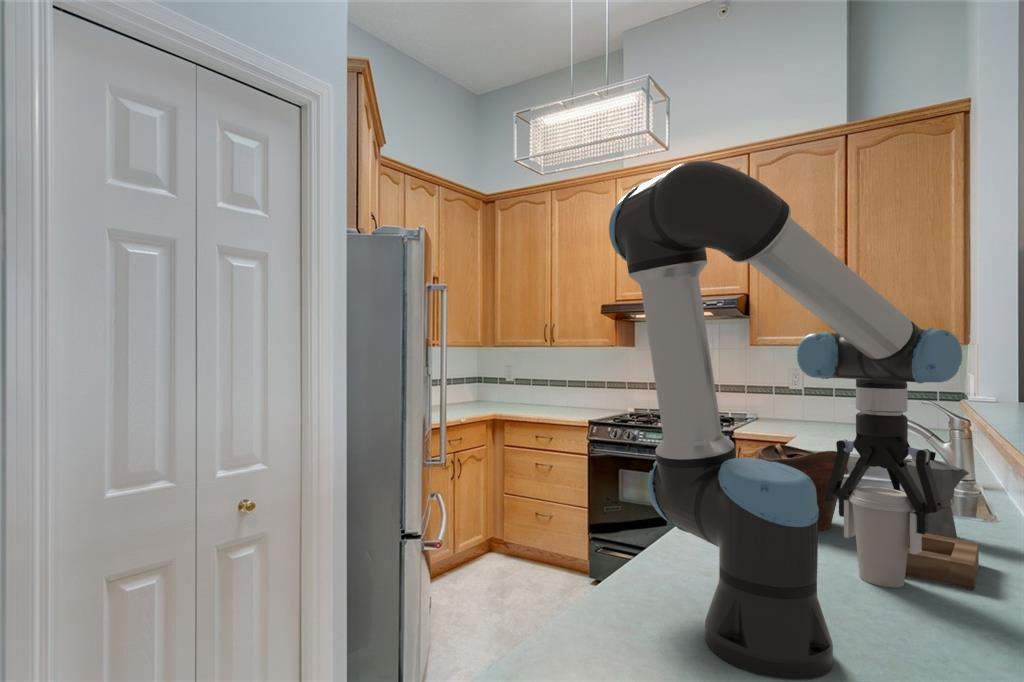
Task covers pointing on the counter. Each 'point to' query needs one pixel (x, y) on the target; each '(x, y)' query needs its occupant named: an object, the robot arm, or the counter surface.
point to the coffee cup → (881, 534)
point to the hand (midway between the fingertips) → (881, 544)
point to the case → (809, 474)
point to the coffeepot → (945, 483)
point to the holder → (945, 561)
